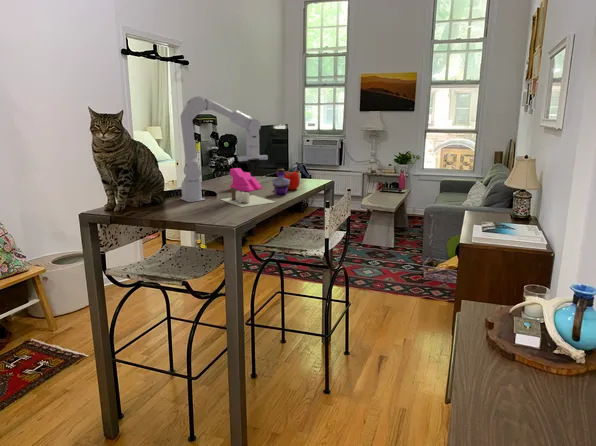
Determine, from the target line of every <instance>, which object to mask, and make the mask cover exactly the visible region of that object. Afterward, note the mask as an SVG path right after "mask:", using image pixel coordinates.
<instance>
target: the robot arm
mask: <svg viewBox="0 0 596 446" xmlns="http://www.w3.org/2000/svg"><path fill="white" fill-rule="evenodd" d="M204 111H212V112H215V113H218V114H220V115H222V116H224V117H226V118H228V119H229V121H230V122H231V123H232V124H234V125H236V126H238V127H240V128H242V129H244V130H245V131H246V142H245V143H246V155H241V156H237V161H238V162H245V164H246V166H247V167H248V170H249V173H250V174H251V176H252V177H255V178H256V176H257V173H258V172H257V171H258V168H259V167H260V164H261V163H262V162H261V160H262V161H263V160H265V161H266V160H268V159H269V158H268V155H267V154H262V155H261V154H260V130H261V127H262V126H261V123H260V121H259V120H258V119H256V118H252V116H251V115H250V114H249V115H247V114H245V113H243V110H240V109H235V110H231V109H229V108H227V107H225V106H223V105H222V104H219V103H217V102H215V101H214V100H211V99H208V98H204V97H203V96H199V95H198V96H193V97H191V98H190V99H189V100H187V102H186V103H185V106H184V108H183V109H182V112H181V114H180V125H181V134H182V143H183V151H184V167H183V173H184V175H185V176H184V178H183V181H182V182H181V184H180V185H181V197H179V198H180V200H183V201H185V202H188V203H192V202H193V203H194V202H200V201H206V198H205V197H202V196H203V195H202V178H201V175H202V171H201V169H200V167H199V165H198V159H197V153H196V152H197V151H196V150H197V149H196V143H195V132H194V124H193V120H195V118H196V117H197V115H199V114H201V113H202V112H204Z"/></svg>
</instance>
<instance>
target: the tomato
mask: <svg viewBox="0 0 596 446" xmlns="http://www.w3.org/2000/svg"><path fill="white" fill-rule="evenodd" d="M285 172H286V175H284V178H286V179H289V180H290V183H289V188H288V189H287V191H288V190H289V191H295V190H297V188H299V186H300V183H301V181H300V180H301V179H300V178H301V177H300V175H299V172H297V171H293V172H290V171H285ZM294 189H295V190H294Z"/></svg>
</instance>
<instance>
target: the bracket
mask: <svg viewBox="0 0 596 446" xmlns="http://www.w3.org/2000/svg"><path fill="white" fill-rule="evenodd" d="M229 174H230V177H232V183H231V184H230V189H231V188H233V187H234V188H236V191H239V192H247V193H250V192H251V193H252V192H254V191H255V190H262V189H263V186H262V185H261V184H260V183H259V181H258V180H257V179H256V176H255V177H252V176H251V174H250V171H249V172H247V171H243V170H242V168H241V167H239V168H238V167H234V168H230V169H229Z"/></svg>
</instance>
